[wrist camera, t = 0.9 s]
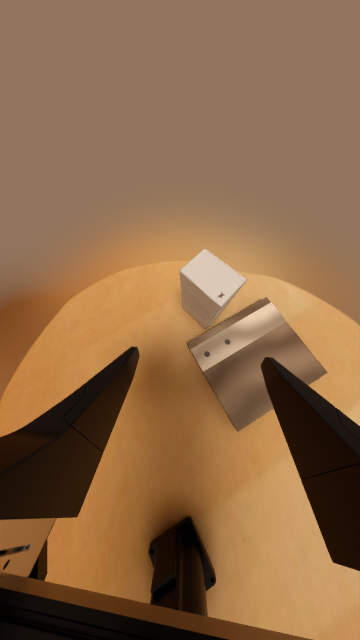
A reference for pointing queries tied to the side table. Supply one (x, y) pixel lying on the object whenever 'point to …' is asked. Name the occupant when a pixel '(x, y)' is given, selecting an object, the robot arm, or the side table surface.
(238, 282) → the skincare box
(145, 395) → the side table surface
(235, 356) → the bent metal bracket plate
